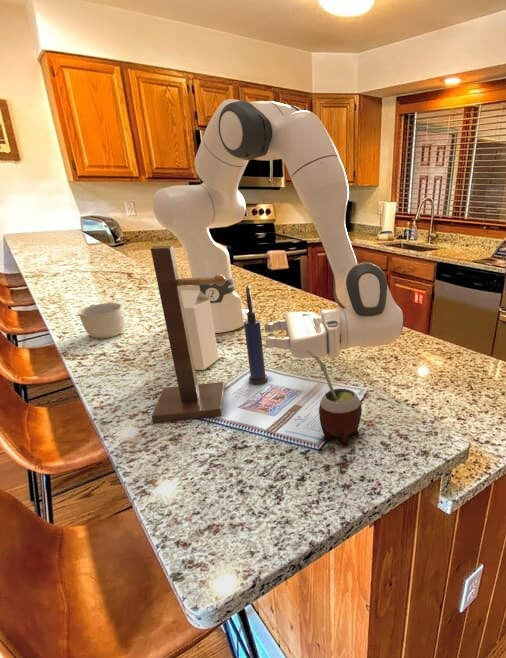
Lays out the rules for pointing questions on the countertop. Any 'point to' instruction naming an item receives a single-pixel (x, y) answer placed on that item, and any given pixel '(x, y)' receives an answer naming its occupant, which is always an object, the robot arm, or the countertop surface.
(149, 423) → the countertop surface
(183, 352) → the coat stand
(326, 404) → the mate gourd
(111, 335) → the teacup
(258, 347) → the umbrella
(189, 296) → the milk carton
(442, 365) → the countertop surface
